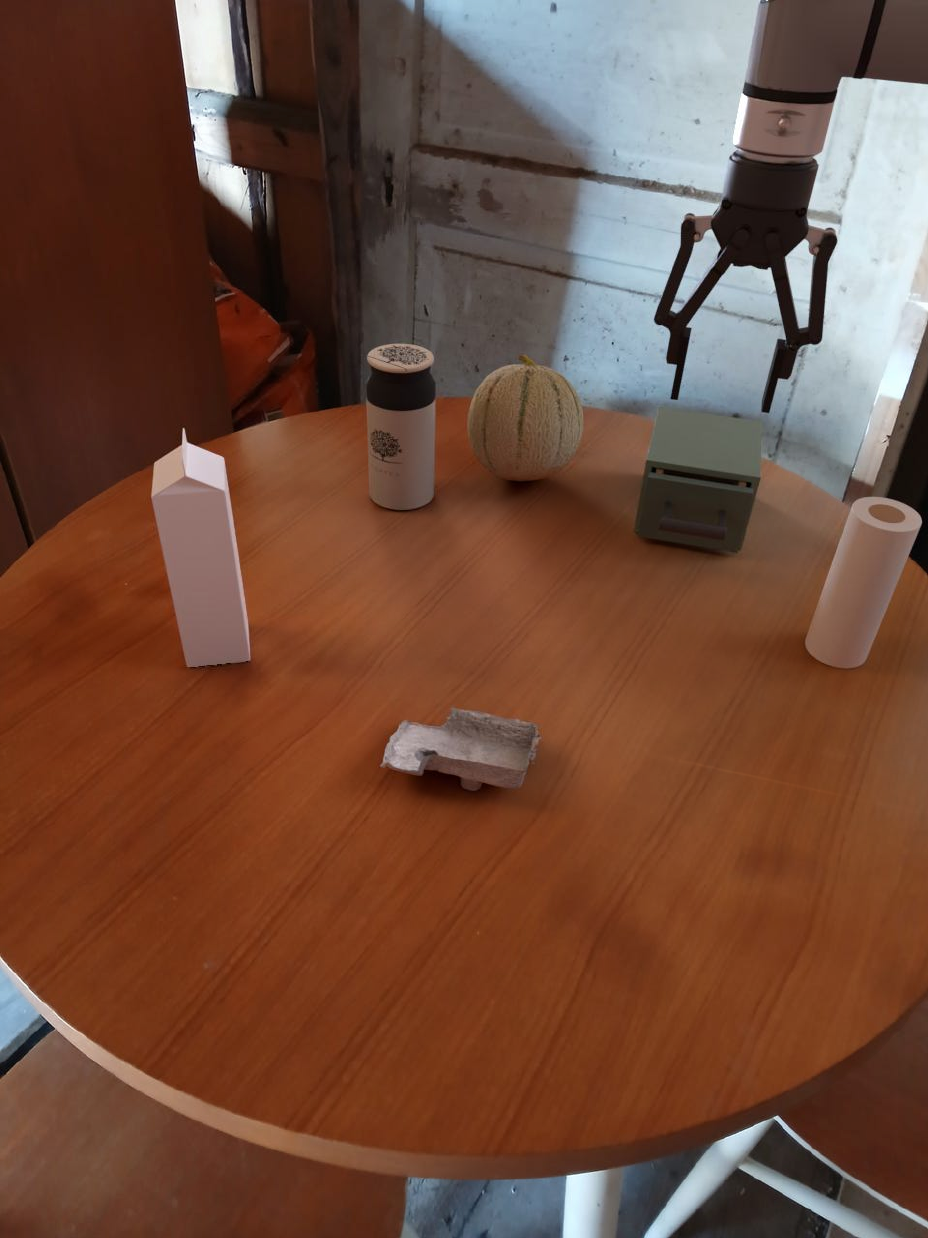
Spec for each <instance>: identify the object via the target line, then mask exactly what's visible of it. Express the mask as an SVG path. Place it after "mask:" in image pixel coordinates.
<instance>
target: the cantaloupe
mask: <svg viewBox="0 0 928 1238" xmlns="http://www.w3.org/2000/svg"><path fill="white" fill-rule="evenodd" d="M518 360H519V361H522V362H523V363H512V364H509V365H503V366H501V367H499V368H497V369H496V370H494V371H492V372H490V373H489V374H488V375H487V376H486V377H485V378H484V379H483V381H482V382H481V383H480V385H479V386H478V387H477V388H476V390H475V392H474V394H473V398H472V399H471V402H470V406H469V410H468V414H467V437H468V440H469V443H470V447H471V450H472V452H473V453H474V455H475V457H476V458H477V460H478V462H480V464H481V465H482V466H483V467H484V468H486V470H488V471H489V472H490V473H492V474H494V475H495V476H497V477H498V478H500V479H503V480H506V481H513V482H514V481H515V482H527V481H528V482H530V481H537V480H543V479H547V478H549V477H551V476H553V475H555V474H557V473H558V472H560V471H561V470H562V469H563V468H565V467H566V466H567V465H568V464H569V463H570V462H571V460H572V459H573V458H574V457H575V455H576V452H577V451H578V449H579V446H580V442H581V440H582V436H583V432H584V414H583V413H584V412H583V406H582V403H581V400H580V398H579V395H578V392H577V391H576V389H575V388H574V387H573V385H572V383H571V382H570V381H569V379H567V378H566V376H564V375H563V374H562V373H560V372H558V371H557V370H555V369H553V368H551V367H548V366H544V365H541V364H540V365H539V364H537V363H535V362H534V361H533V360H532V359H531V358H530V357H529V356H527V355H525V354H519V357H518Z"/></svg>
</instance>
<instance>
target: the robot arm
mask: <svg viewBox="0 0 928 1238" xmlns="http://www.w3.org/2000/svg"><path fill="white" fill-rule="evenodd" d="M756 11H757V12H756V16H755V21H754V28H753V32H752V33H753V34H752V38H751V43H750V49H749V56H748V61H747V65H746V66H747V67H746V72H745V77H744V83H743V88H742V92H741V95H740V100H739V106H738V111H737V117H736V122H735V126H734V131H733V136H732V137H733V138H732V144H733V146H734V147H735V148H736V150H735V151H733V152H732V154H730V155H729V157H728V160H727V167H726V173H725V176H724V182H723V186H722V193H721V197H720V202H719V204H718V207H716V209H715V210H714V211H713V213H712V214H711V215H695V214H694V213H692V212H688V213H685V215H684V216H683V217H682V218H683V219H682V221H681V225H680V245H679V247H678V250H677V252H676V255H675V259H674V260H673V263H672V266H671V269H670V272H669V274H668V277H667V280H666V283H665V285H664V288H663V291H662V294H661V295H660V298H659V301H658V303H657V307H656V310H655V313H654V317H653V322H654V324H655V325H657V326H662V327H663V328H666V329H667V331H669V339H668V346H667V349H666V356H665V361H666V364H667V365H675V366H676V367H675V372H674V377H673V382H672V388H671V393H670V398H669V399H670V400H672V401H673V400H675V401H679V396H680V392H681V391H680V390H681V386H682V381H683V375H684V372H685V371H684V370H685V365H686V359H687V355H688V349H689V346H690V345H689V344H690V339H691V335H692V329H693V328H692V327H689V326H688V325H689V324H690V323H691V321H692V319H693V318H694V317H695V315H696V314H697V312H698V311H699V309H700V308H701V306H702V305H703V304H704V302H705V301H706V299H707V298H708V297H709V295H710V294H711V292H712V291H713V289H714V288H715V286H716V285H717V284H718V283H719V281H720V280H721V278H722V276H723V275H725V274H726V272H727V271H728V269H729V268H730V267H731V265H732V266H733V267H736V268H737V267H739V268H743V267H744V268H745V267H753V268H756V269H758V270H765V271H768V270H769V269H770V271H771V275H772V280H773V284H774V288H775V294H776V298H777V303H778V308H779V311H780V312H779V313H780V317H781V323H782V326H783V332H784V336H785V339H783V338H777V339H776V343H775V348H774V351H773V355H772V359H771V363H770V367H769V370H768V374H767V379H766V382H765V386H764V390H763V394H762V399H761V408H760V409H761V413H764V414H770V412H771V408H772V405H773V401H774V397H775V394H776V389H777V386H778V382H779V379H781V380H786V381H787V380H789V379H790V377H792V373H793V370H794V366H795V363H796V359H797V355H798V352H799V350H800V349H801V348H802V347H803V346H808V345H812V346H818V345H819V344H821V342H822V340H823V333H824V322H825V321H824V320H825V308H826V297H827V296H826V294H827V285H828V284H827V282H828V273H829V272H828V271H829V262H830V260H831V257H832V255H833V253H834V251H835V249H836V246H837V244H838V236H837V230H836V228H833V227H826V228H825V229H824V228H821V227H817V226H813V225H810V224H809V220H808V210H809V206H810V202H811V198H812V194H813V190H814V186H815V182H816V179H817V174H818V171H819V166H820V165H819V164H818V161H817V159H816V158H815V156H818V155H820V153H822V152H823V150H824V146H825V142H826V138H827V135H828V131H829V130H828V129H829V126H830V122H831V119H832V114H833V109H834V105H835V102H836V99H837V96H838V95H837V94H838V89H839V85H840V83H841V81H842V79H843V78H852V79H855V80H856V79H857V80H863V79H867V80H868V79H869V80H879V81H888V82H898V83H908V84H919V85H928V0H758V5H757V10H756ZM710 230H711V231H712V233H713V235H714V237H715V239H716V241H717V244H718V246H719V250H718V251H717V253H716V254H715V256H714V257H713V260H712V261H711V262H710V264H709V265H708V267H707V268H706V270H705V271H704V273H703V275H702V276H700V278H699V280H698V282H697V283H696V284H695V286H694V287H693V289H692V290H691V292H689V295H688V296H687V298H686V299H685V301H684V302H683V303H682V305H681V306H680V308H679V309H678V311H677V312H675V311H673V310H672V307H673V304H674V302H675V299H676V296H677V294H678V291H679V288H680V285H681V284H682V280H683V278H684V276H685V274H686V273H685V272H686V270H687V267H688V264H689V262H690V260H691V257H692V253H693V250H694V247H695V243H700V242H701V241H703V239H704V236H705V234H706V232H708V231H710ZM804 240H805V241H807V243H808V247H807V248H808V252H809V254H810V255H812V256H813V257H812V264H811V265H812V266H811V276H810V277H811V280H810V294H809V306H808V307H809V308H808V321H807V322H808V323H807V326H804V327H800V326H799V320H798V316H797V311H796V306H795V302H794V296H793V292H792V291H793V290H792V285H791V281H790V277H789V271H788V266H787V261H786V257H787V256H788V255H789V254H790V253H791V252H793V250H795V249H796V247H798V246H799V245H800V244H801V243H802V242H803V241H804Z"/></svg>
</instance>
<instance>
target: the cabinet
mask: <svg viewBox="0 0 928 1238" xmlns="http://www.w3.org/2000/svg"><path fill="white" fill-rule="evenodd" d="M762 439H763V421H761V420H754V419H745V418H740V417H739V418H738V417H733V416H726V415H718V414H712V413H705V412H698V411H690V410H684V409H677V408H669V407H665V406H664V407H662V406H658V408H657V412H656V417H655V421H654V425H653V429H652V433H651V438H650V442H649V446H648V449H647V450H648V451H647V456H646V459H645V464H644V470H643V475H642V480H641V481H642V482H641V487H640V493H639V498H638V504H637V509H636V515H635V520H634V526H633V532H634V533H638V530H639V525H640V519H641V514H642V508H643V503H644V497H645V492H646V486H647V481H648V476H649V472H652V473H656V469H657V468H662V469H668V470H674V471H681V472H687V473H694V474H700V475H706V476H713V477H719V478H726V479H732V480H738V481H745V482H747V484H746V487H747V488H753V496H752V500H751V504H750V507H749V511H748V515H747V519H746V522H745V526H744V530H743V534H742V537H741V541H740V545H739V549H738V551H742V549H743V546H744V541H745V538H746V534H747V531H748V527H749V524H750V520H751V516H752V513H753V510H754V505H755V501H756V498H757V494H758V491H759V487H760V483H761V479H762V450H763V449H762V447H763V446H762Z"/></svg>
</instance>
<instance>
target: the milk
mask: <svg viewBox="0 0 928 1238" xmlns="http://www.w3.org/2000/svg"><path fill="white" fill-rule="evenodd" d="M181 435H182V436H181V437H182V440H181V445H179V446H178V447H176V448H175V449H173V450H171V451H170V452H168V453H167V454H166V455H164V456H162V457H161V458H159V459H157V460H156V461H154V463H153V471H152V472H153V473H152V484H151V494H150V495H151V496H150V497H151V503H152V509H153V512H154V513H153V514H154V517H155V522H156V527H157V532H158V536H159V541H160V546H161V551H162V555H163V561H164V565H165V570H166V575H167V579H168V585H169V589H170V593H171V598H172V603H173V609H174V614H175V619H176V622H177V623H176V624H177V627H178V633H179V637H180V642H181V647H182V651H183V656H184V661H185V666H186V668H187V667H196V668H199V667H198V666H204V665H205V667H207V666H206V665H214V666H218V665H217V664H222V665H227V664H226V663H231V664H238V663H246V661H248V662H251V647H250V646H251V645H250V643H251V642H250V630H249V618H248V612H247V606H246V597H245V590H244V584H243V577H242V571H241V564H240V563H241V562H240V556H239V550H238V543H237V537H236V529H235V523H234V516H233V510H232V509H233V508H232V501H231V496H230V489H229V482H228V475H227V467H226V461H225V457H223V456H221V455H219V454H217V453H214V452H211V451H209V450H207V449H205V448H202V447H199V446H197V445H194V444H192V443H190V442H188V439H187V435H186V429H185V427H183V428H182V434H181Z"/></svg>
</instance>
